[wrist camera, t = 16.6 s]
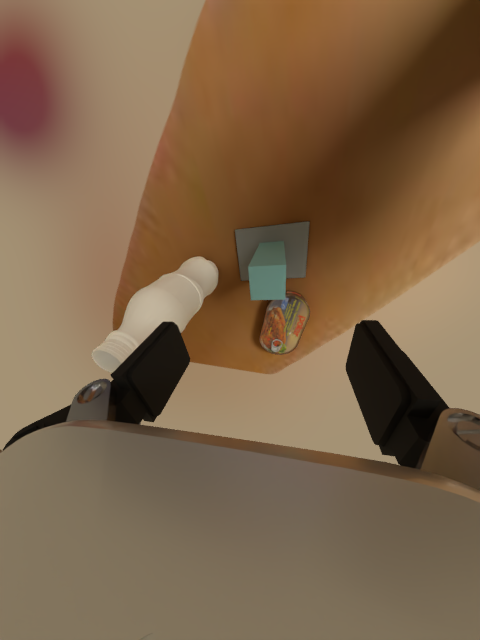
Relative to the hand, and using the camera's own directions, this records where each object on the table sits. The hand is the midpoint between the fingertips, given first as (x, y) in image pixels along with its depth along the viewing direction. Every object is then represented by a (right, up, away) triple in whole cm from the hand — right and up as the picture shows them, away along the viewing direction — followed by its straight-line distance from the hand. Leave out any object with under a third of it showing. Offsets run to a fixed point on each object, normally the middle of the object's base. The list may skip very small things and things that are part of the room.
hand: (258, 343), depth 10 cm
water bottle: (-8, +11, +27) cm, 30 cm away
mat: (+5, +13, +23) cm, 26 cm away
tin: (+4, +1, +29) cm, 29 cm away
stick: (+5, +13, +22) cm, 26 cm away
